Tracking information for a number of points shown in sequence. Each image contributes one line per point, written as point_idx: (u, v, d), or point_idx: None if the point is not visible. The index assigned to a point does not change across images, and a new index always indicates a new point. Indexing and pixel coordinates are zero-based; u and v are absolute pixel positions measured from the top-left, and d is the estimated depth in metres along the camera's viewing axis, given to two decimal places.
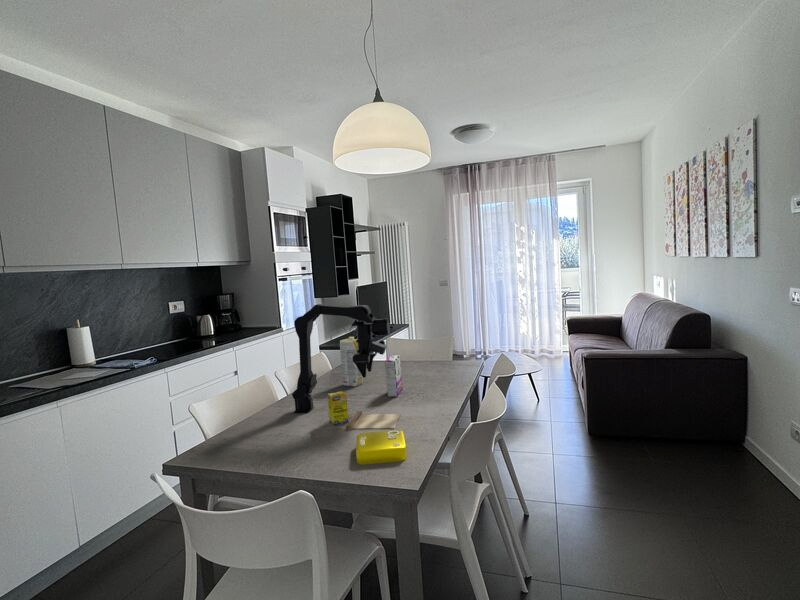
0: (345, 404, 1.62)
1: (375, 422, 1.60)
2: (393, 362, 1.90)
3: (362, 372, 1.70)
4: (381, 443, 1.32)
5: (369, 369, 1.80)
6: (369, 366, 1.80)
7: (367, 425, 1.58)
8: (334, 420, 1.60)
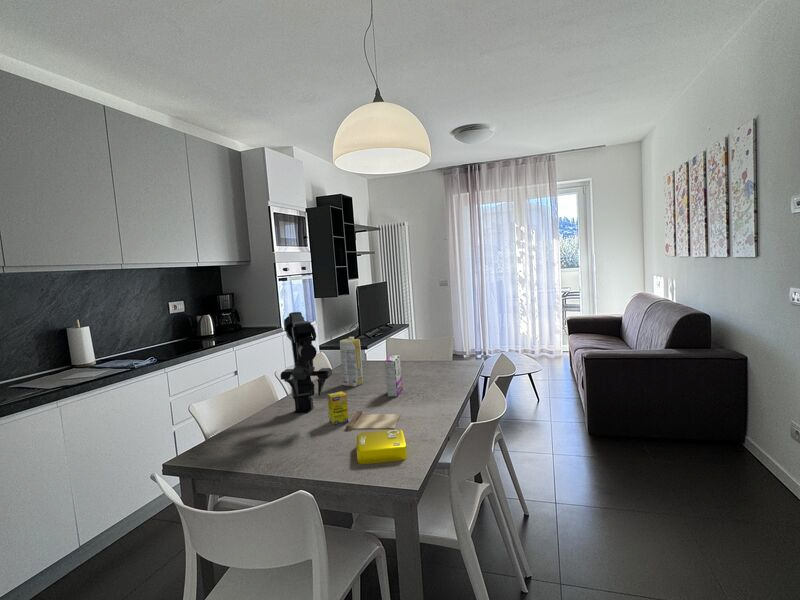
0: (345, 404, 1.62)
1: (375, 422, 1.60)
2: (393, 362, 1.90)
3: None
4: (382, 443, 1.32)
5: None
6: None
7: (367, 425, 1.58)
8: (334, 420, 1.60)
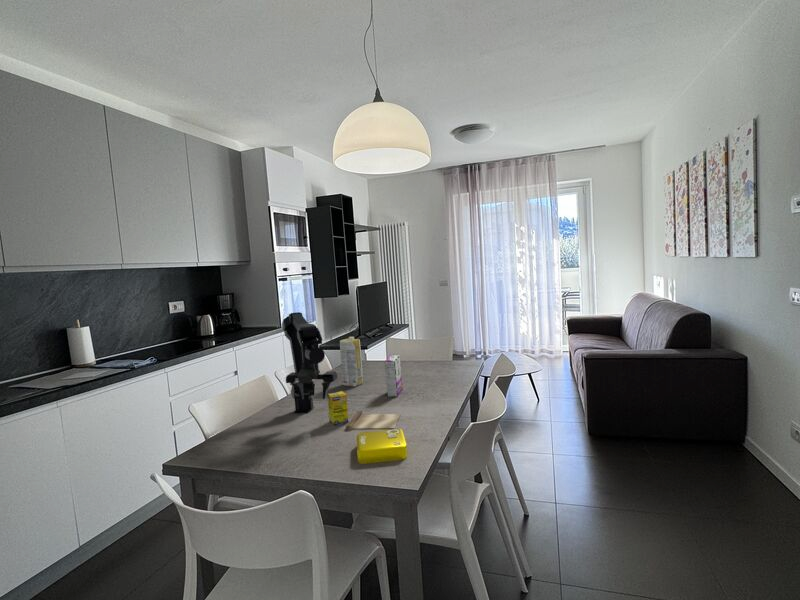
0: (345, 404, 1.62)
1: (375, 422, 1.60)
2: (393, 362, 1.90)
3: None
4: (382, 442, 1.32)
5: None
6: None
7: (367, 425, 1.58)
8: (334, 420, 1.60)
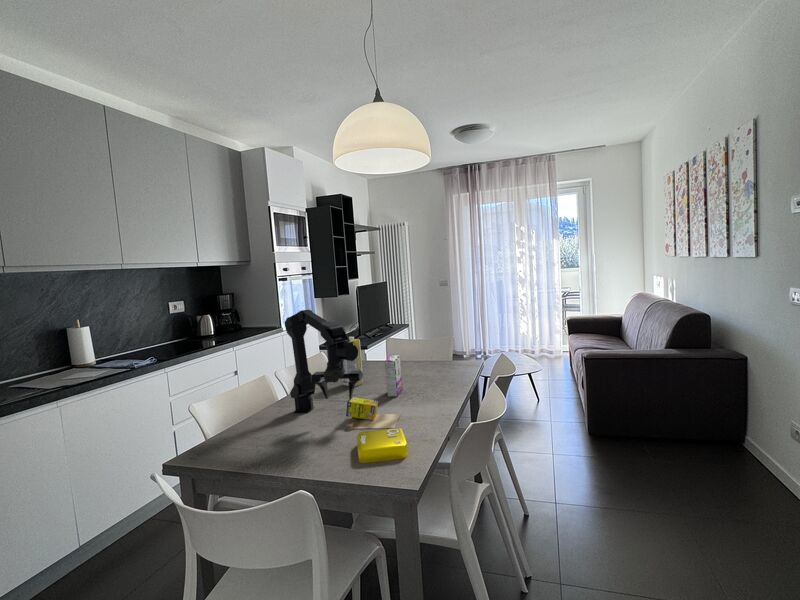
0: (364, 417, 1.62)
1: (375, 422, 1.60)
2: (393, 362, 1.90)
3: None
4: (382, 441, 1.33)
5: None
6: None
7: (367, 425, 1.58)
8: (352, 403, 1.63)
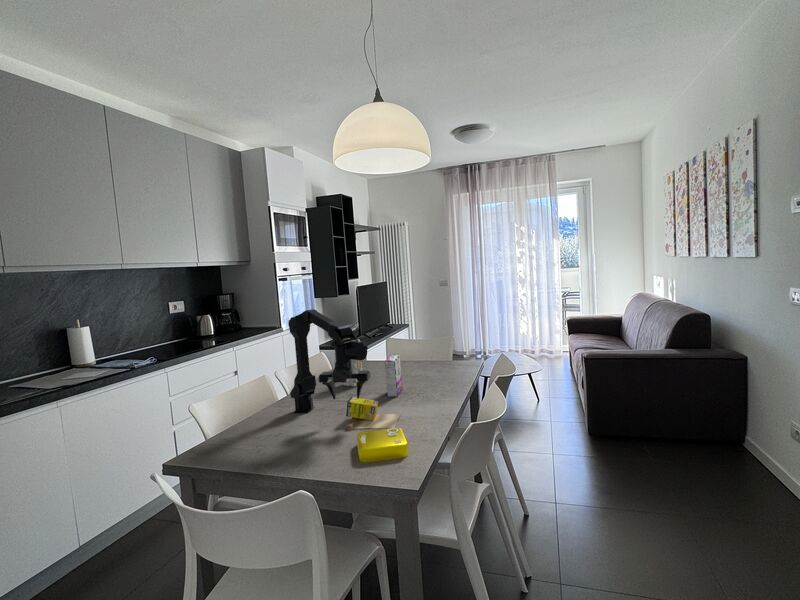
0: (364, 417, 1.62)
1: (375, 422, 1.60)
2: (393, 362, 1.90)
3: None
4: (383, 441, 1.34)
5: None
6: None
7: (367, 425, 1.58)
8: (352, 403, 1.62)
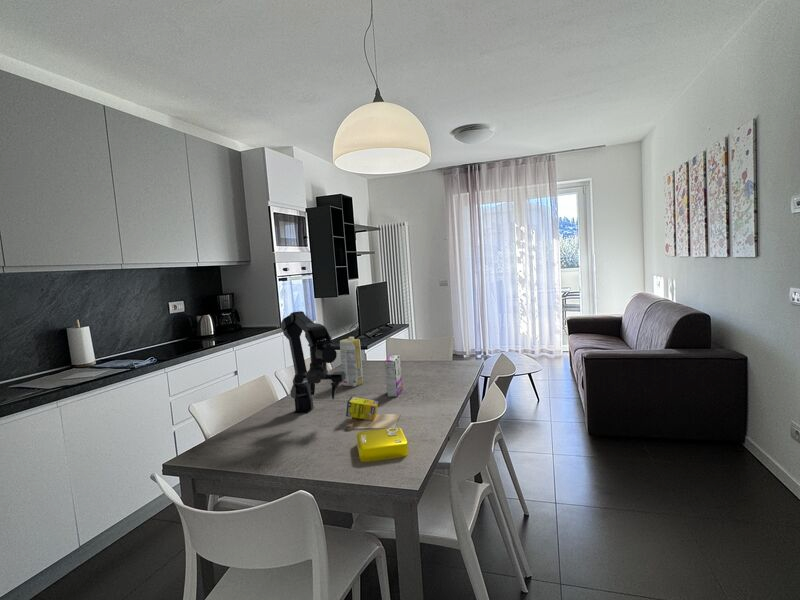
0: (364, 417, 1.62)
1: (375, 422, 1.60)
2: (393, 362, 1.90)
3: None
4: (383, 440, 1.34)
5: None
6: None
7: (367, 425, 1.58)
8: (352, 403, 1.62)
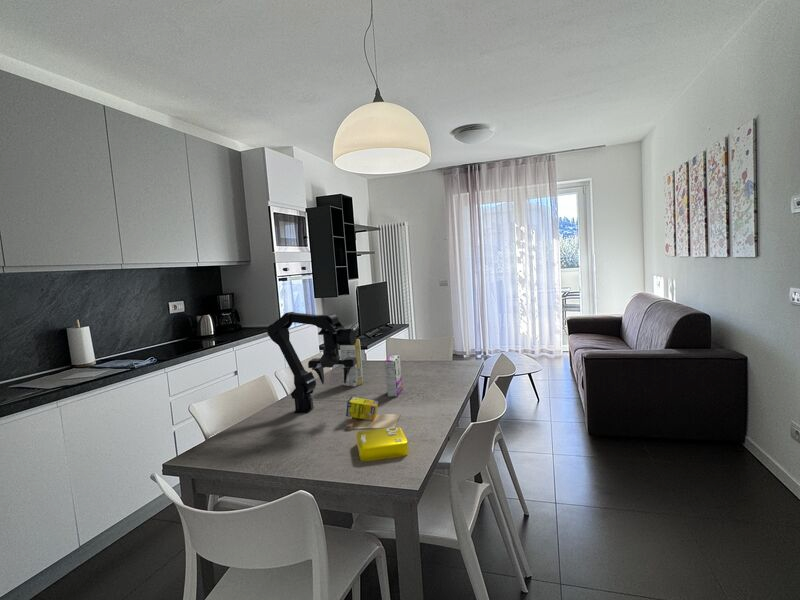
0: (364, 417, 1.62)
1: (375, 422, 1.60)
2: (393, 362, 1.90)
3: None
4: (383, 440, 1.34)
5: None
6: None
7: (367, 425, 1.58)
8: (352, 403, 1.62)
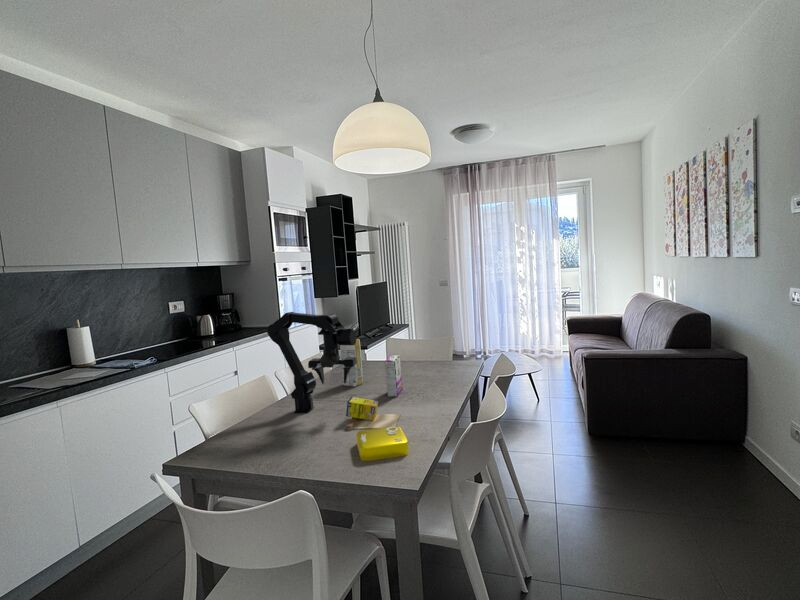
0: (364, 417, 1.62)
1: (375, 422, 1.60)
2: (393, 362, 1.90)
3: None
4: (383, 439, 1.35)
5: None
6: None
7: (367, 425, 1.58)
8: (352, 403, 1.62)
